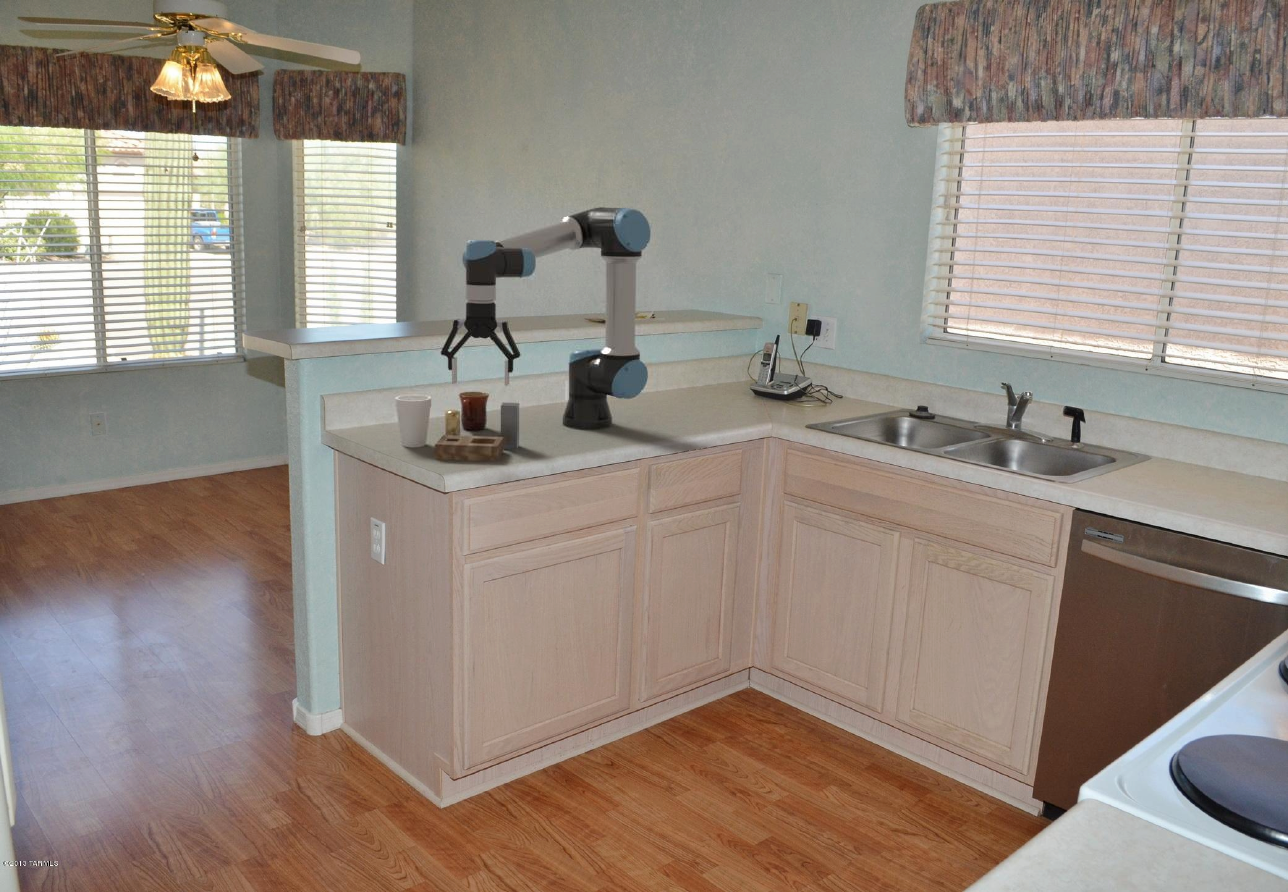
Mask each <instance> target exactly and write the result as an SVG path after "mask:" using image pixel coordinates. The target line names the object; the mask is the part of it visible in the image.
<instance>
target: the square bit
mask: <svg viewBox="0 0 1288 892" xmlns="http://www.w3.org/2000/svg"><path fill="white" fill-rule="evenodd" d="M500 437H503V450H518V448H519V447H520V403H519V402H502V403H501V404H500Z"/></svg>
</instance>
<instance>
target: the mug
mask: <svg viewBox="0 0 1288 892" xmlns="http://www.w3.org/2000/svg"><path fill="white" fill-rule="evenodd" d="M489 396H490V393H488V392H484V391H464V392H460V393H459V394H458V397H459V400H460V405H461V406H460V407H461V411H460V424H461V427H462V428H463V430H466V431H481V430H484V429H485V428H486V427H487V421H488V420H487V419H488V417H487V416H488V415H487V414H488V412H487V411H488V410H487V404H488V399H489Z"/></svg>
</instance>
